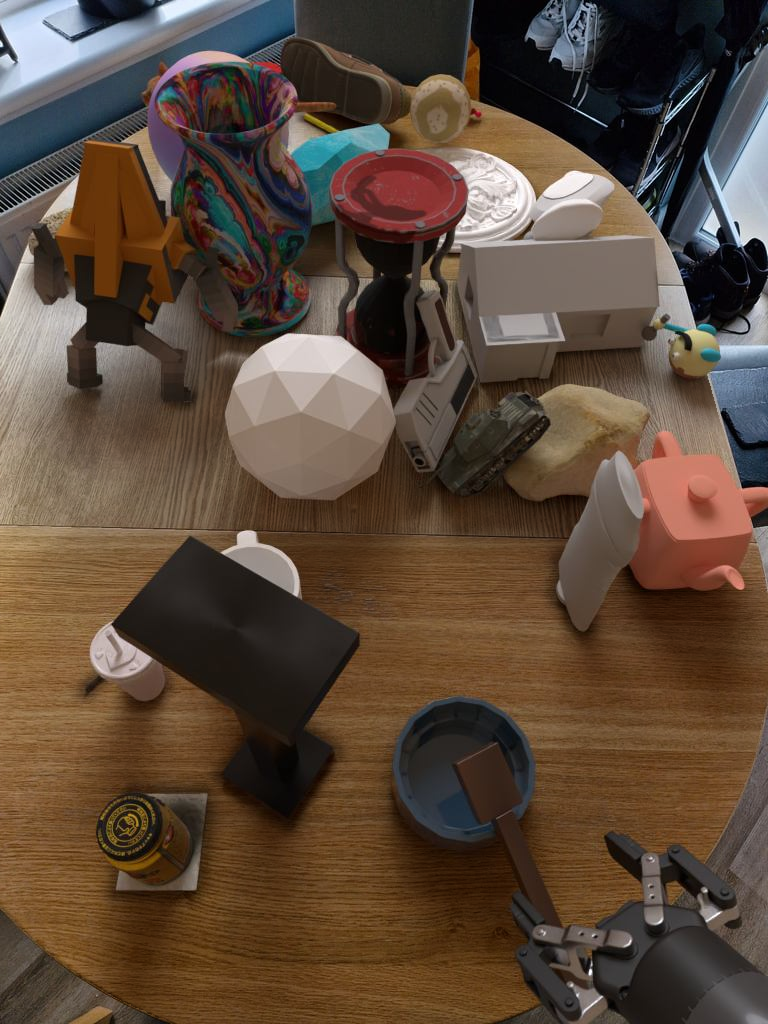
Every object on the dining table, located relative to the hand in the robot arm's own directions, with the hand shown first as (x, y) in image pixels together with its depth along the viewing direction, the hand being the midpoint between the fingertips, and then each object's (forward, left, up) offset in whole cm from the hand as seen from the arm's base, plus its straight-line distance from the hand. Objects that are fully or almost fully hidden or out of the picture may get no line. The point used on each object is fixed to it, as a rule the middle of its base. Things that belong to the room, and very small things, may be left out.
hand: (564, 871), depth 57 cm
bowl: (+6, +10, -16) cm, 20 cm away
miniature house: (+70, +29, -16) cm, 77 cm away
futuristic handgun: (+45, +40, -1) cm, 60 cm away
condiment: (-13, +31, -16) cm, 38 cm away
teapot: (+42, +2, -16) cm, 45 cm away
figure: (+107, +73, -12) cm, 130 cm away
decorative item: (+43, +92, -15) cm, 103 cm away
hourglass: (+54, +47, -16) cm, 73 cm away
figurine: (+72, +10, -8) cm, 73 cm away
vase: (+51, +69, -16) cm, 87 cm away
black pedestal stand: (-2, +26, -16) cm, 31 cm away
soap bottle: (+77, +32, -5) cm, 83 cm away
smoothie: (-3, +43, -16) cm, 46 cm away
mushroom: (+111, +66, -10) cm, 129 cm away
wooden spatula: (+1, +1, -12) cm, 12 cm away
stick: (-3, +49, -15) cm, 51 cm away
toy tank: (+41, +25, -12) cm, 50 cm away
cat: (+76, +88, -16) cm, 117 cm away
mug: (+10, +37, -16) cm, 42 cm away
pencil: (+95, +83, -16) cm, 127 cm away
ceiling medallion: (+89, +56, -16) cm, 107 cm away
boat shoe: (+99, +88, -10) cm, 132 cm away
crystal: (+58, +73, -10) cm, 94 cm away
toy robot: (+28, +72, -16) cm, 79 cm away
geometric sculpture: (+31, +44, -16) cm, 56 cm away
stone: (+49, +17, -16) cm, 54 cm away
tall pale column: (+31, +9, -16) cm, 36 cm away
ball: (+73, +81, +5) cm, 109 cm away
